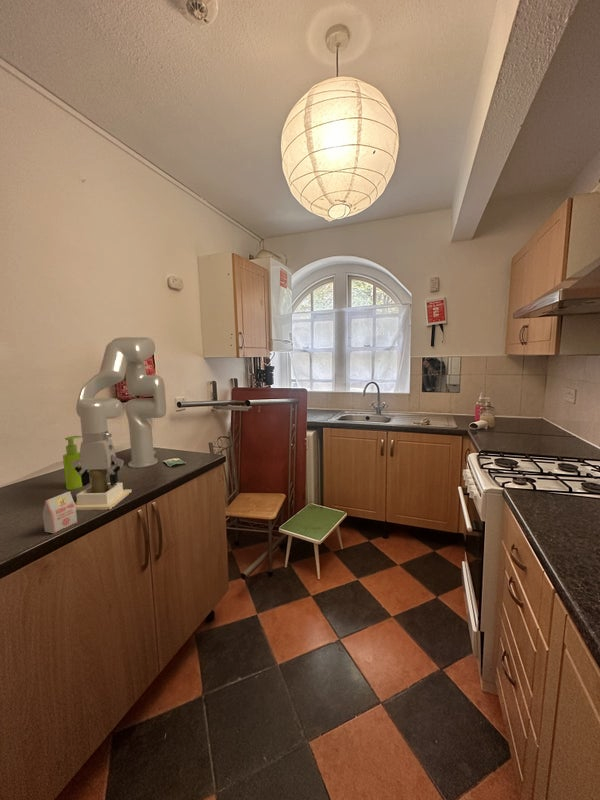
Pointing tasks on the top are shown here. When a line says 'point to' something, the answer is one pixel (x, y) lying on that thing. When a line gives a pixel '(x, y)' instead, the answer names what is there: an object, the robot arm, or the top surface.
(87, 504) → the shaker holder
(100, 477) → the cork
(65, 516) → the white carton
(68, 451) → the soap dispenser
